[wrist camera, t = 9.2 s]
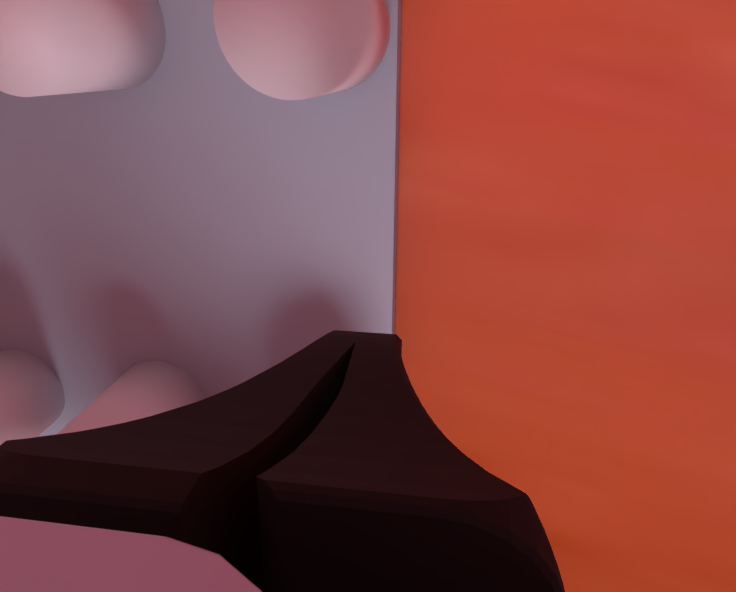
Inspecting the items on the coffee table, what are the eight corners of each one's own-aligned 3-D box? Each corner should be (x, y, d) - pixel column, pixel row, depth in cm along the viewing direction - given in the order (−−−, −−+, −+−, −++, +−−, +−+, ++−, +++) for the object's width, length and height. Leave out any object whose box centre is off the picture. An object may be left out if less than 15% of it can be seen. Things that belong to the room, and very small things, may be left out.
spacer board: (392, 457, 24) (371, 562, 19) (-108, 408, 28) (-238, 487, 23) (402, -57, 18) (376, -104, 13) (-252, -41, 21) (-480, -73, 16)
